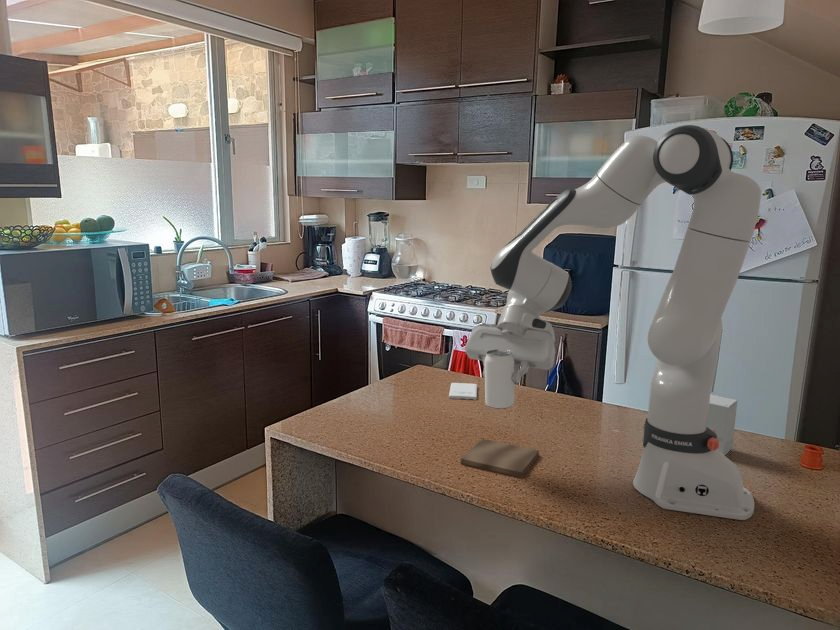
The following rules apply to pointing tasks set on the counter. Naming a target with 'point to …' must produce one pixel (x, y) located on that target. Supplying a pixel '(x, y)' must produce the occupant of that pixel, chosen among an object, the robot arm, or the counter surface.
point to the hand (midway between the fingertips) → (500, 378)
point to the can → (499, 379)
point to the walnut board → (500, 457)
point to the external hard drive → (463, 391)
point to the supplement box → (722, 420)
